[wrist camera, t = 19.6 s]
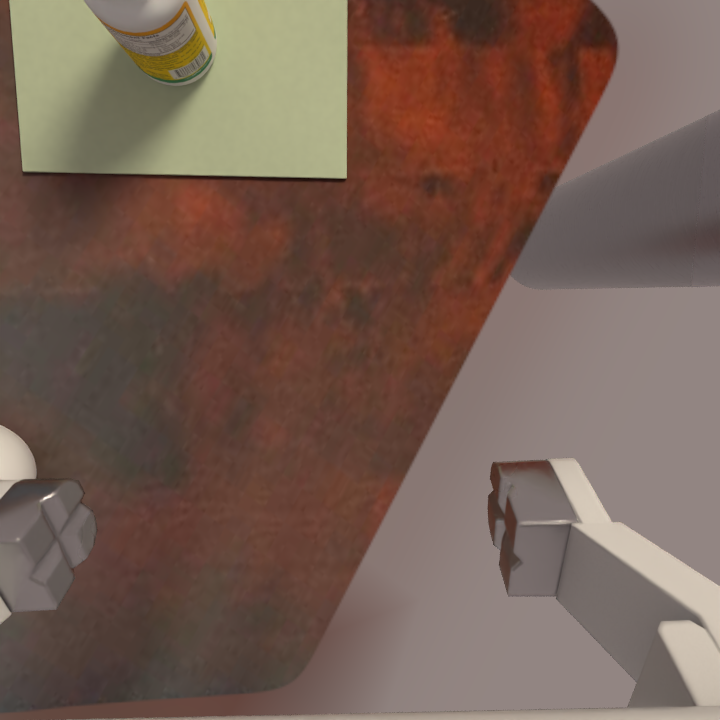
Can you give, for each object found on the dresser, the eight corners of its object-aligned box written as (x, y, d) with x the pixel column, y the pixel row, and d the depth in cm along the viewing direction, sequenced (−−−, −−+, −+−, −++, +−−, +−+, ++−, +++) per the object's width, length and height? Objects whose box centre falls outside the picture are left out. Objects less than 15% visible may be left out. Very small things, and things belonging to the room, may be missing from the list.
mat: (347, -98, 30) (347, -100, 30) (346, 179, 32) (346, 178, 32) (1, -116, 29) (-1, -119, 29) (24, 172, 31) (22, 171, 31)
